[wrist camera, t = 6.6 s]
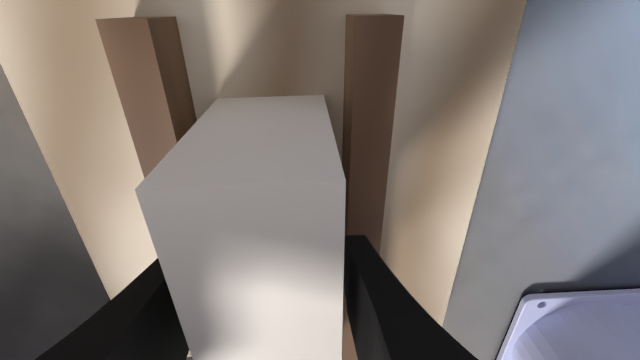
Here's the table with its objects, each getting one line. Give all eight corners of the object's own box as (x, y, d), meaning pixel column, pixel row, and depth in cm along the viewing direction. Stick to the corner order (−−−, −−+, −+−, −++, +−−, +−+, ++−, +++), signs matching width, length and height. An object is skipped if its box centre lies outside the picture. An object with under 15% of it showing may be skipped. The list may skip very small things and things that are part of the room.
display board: (513, -60, 10) (607, -89, 7) (428, 319, 19) (452, 380, 16) (-11, -59, 9) (-160, -90, 6) (150, 334, 18) (119, 401, 15)
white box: (323, 94, 11) (346, 180, 5) (326, 302, 15) (339, 455, 10) (211, 98, 11) (122, 190, 5) (249, 306, 15) (222, 464, 10)
